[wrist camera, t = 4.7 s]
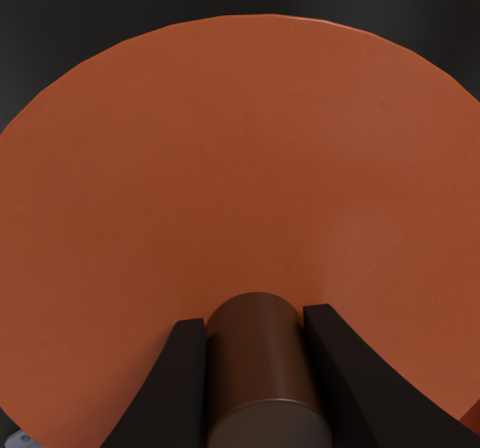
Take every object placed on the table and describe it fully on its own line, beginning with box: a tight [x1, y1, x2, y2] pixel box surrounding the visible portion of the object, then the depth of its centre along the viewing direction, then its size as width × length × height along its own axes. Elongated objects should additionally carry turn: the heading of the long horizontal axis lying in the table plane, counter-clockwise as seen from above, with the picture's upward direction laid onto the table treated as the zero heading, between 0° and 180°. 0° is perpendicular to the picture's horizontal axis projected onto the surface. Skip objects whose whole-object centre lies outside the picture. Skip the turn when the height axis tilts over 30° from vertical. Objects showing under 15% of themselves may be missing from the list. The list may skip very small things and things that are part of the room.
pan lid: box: [0, 14, 480, 448], centre depth 10 cm, size 14×14×4 cm
